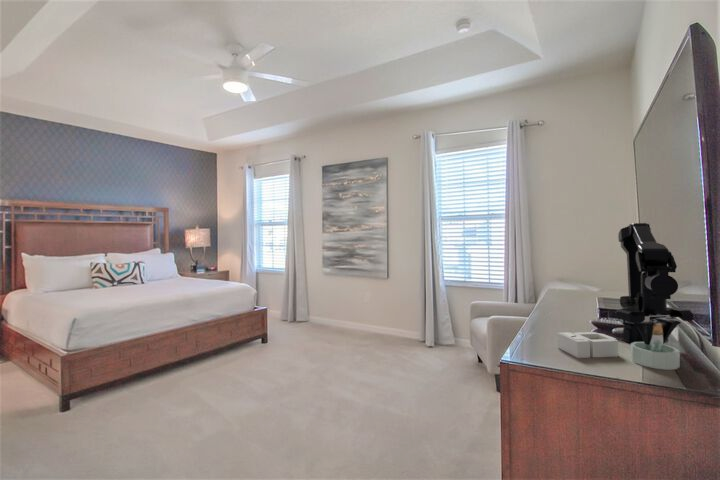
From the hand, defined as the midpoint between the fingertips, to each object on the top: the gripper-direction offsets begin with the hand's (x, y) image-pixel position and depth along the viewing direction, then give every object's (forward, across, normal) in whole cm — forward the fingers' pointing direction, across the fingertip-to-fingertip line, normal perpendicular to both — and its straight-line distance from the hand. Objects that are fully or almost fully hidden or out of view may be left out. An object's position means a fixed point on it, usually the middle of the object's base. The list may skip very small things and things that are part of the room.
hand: (654, 344), depth 103 cm
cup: (+5, 0, 0) cm, 5 cm away
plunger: (+3, +10, -11) cm, 15 cm away
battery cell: (+2, 0, 0) cm, 3 cm away
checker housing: (+5, +12, -11) cm, 17 cm away
